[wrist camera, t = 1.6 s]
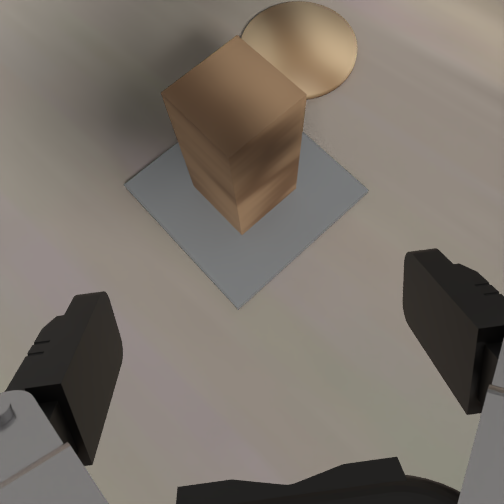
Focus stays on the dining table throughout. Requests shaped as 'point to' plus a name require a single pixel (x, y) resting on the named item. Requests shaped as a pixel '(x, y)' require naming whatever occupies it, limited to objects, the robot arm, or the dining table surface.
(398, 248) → the dining table surface
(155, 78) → the dining table surface
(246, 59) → the walnut block
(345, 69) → the coaster
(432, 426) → the dining table surface
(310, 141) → the blue-gray tile
